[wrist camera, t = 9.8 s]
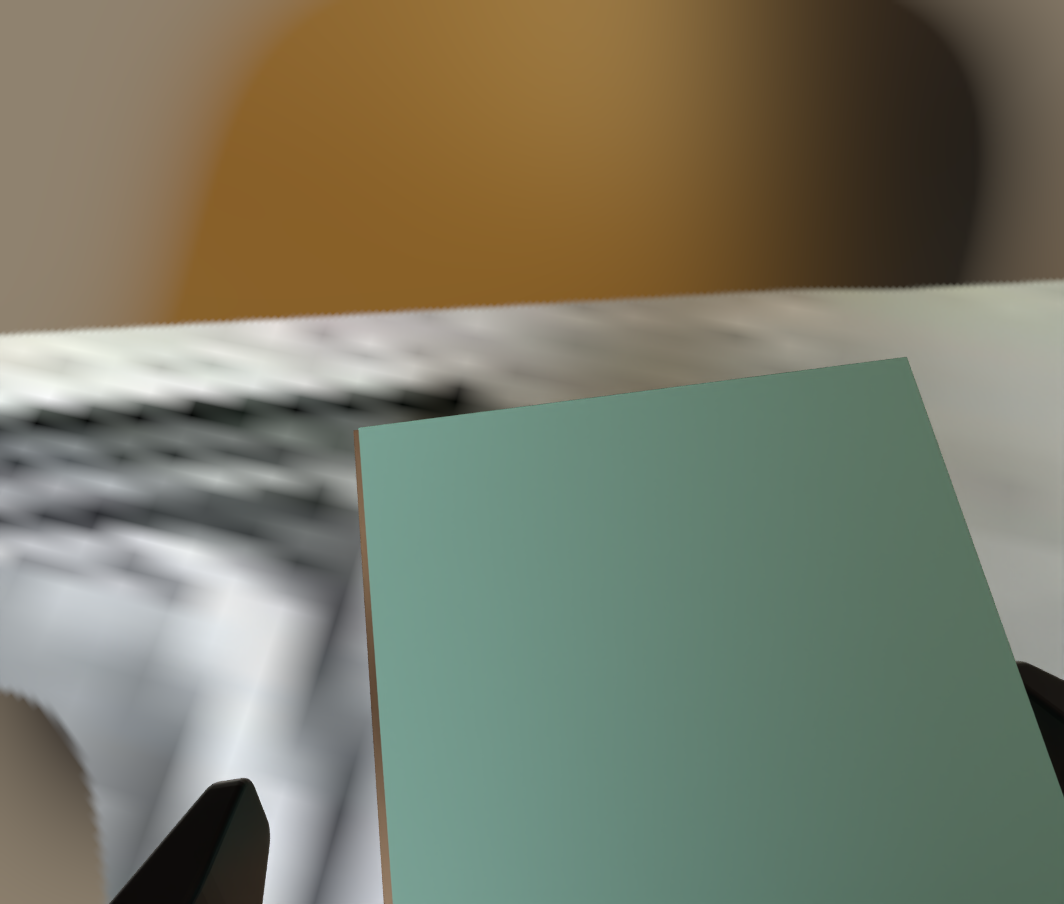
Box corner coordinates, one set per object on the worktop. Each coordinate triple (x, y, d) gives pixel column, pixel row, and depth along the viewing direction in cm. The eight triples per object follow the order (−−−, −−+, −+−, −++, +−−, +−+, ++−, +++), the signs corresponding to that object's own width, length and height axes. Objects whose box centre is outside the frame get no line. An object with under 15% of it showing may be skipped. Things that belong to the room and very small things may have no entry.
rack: (777, 924, 16) (858, 1000, 12) (425, 987, 15) (395, 1087, 12) (671, 443, 20) (708, 386, 16) (386, 480, 19) (353, 430, 15)
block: (662, 758, 16) (1139, 1006, 4) (494, 786, 16) (412, 1155, 3) (629, 588, 17) (907, 356, 5) (473, 611, 17) (357, 427, 5)
